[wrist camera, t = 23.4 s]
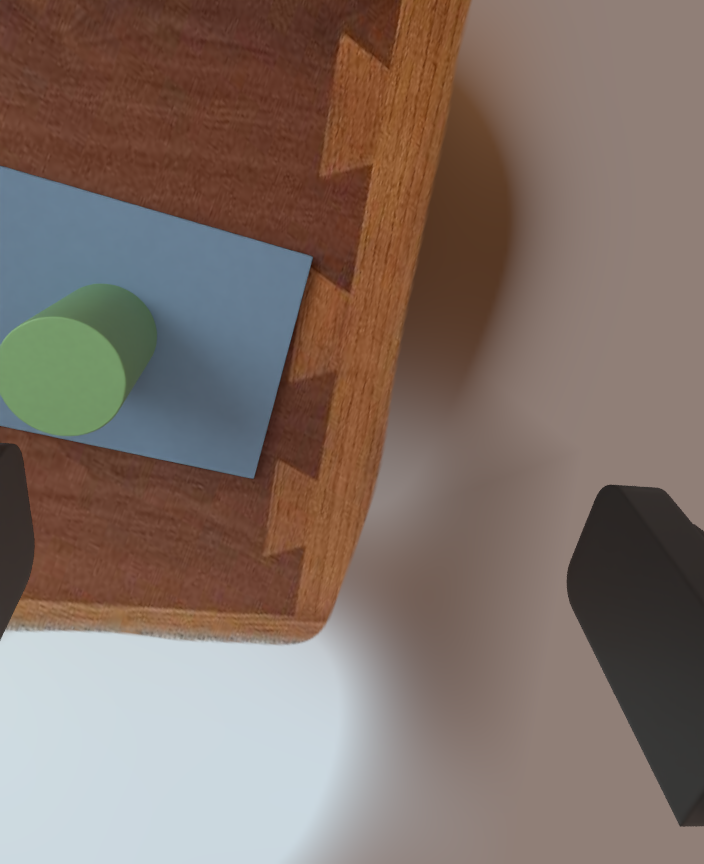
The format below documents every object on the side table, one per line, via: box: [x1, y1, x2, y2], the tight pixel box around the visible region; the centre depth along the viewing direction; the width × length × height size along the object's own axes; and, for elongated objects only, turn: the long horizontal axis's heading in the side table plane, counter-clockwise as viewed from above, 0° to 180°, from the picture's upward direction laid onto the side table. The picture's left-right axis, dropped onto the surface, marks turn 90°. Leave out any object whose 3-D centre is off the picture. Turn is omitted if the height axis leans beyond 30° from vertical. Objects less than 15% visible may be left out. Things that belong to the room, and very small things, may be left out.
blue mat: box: [0, 166, 313, 479], centre depth 37 cm, size 20×14×1 cm
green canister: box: [0, 283, 157, 436], centre depth 32 cm, size 5×5×9 cm
